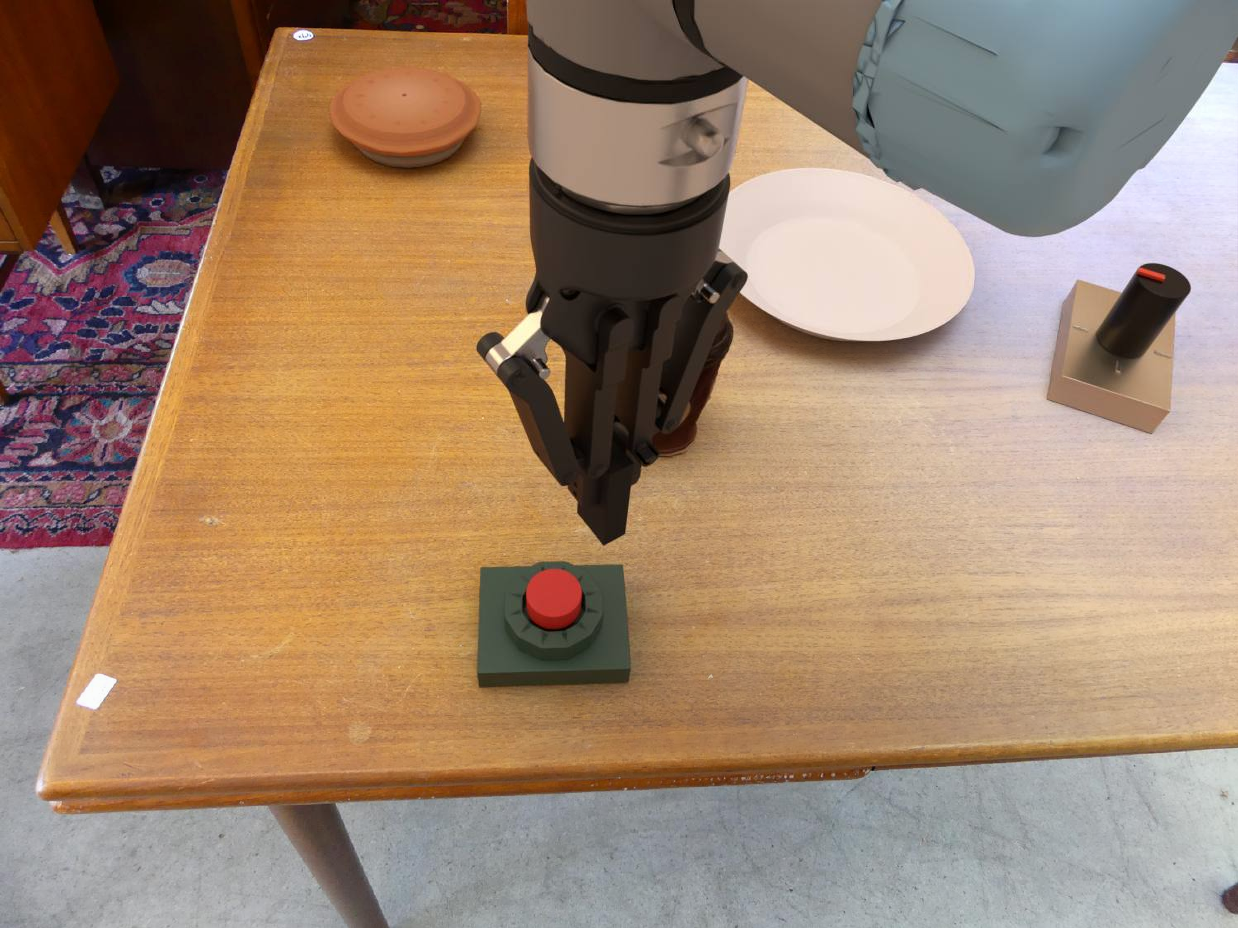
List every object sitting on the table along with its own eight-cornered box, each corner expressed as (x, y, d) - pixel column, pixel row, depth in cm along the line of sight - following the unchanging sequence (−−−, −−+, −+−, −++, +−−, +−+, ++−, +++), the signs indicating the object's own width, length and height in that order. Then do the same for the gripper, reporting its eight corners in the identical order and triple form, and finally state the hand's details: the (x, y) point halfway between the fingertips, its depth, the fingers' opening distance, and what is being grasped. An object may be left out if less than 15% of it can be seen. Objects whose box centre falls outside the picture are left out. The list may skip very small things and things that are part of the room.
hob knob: (1148, 333, 82) (1194, 270, 77) (1145, 364, 80) (1192, 301, 74) (1098, 317, 83) (1140, 253, 78) (1094, 347, 81) (1136, 284, 75)
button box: (620, 579, 66) (625, 550, 63) (628, 682, 62) (633, 656, 58) (481, 582, 66) (479, 552, 62) (478, 687, 61) (475, 660, 58)
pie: (352, 93, 103) (345, 50, 99) (490, 105, 103) (489, 62, 99) (319, 174, 93) (309, 130, 89) (471, 187, 94) (469, 144, 90)
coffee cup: (675, 488, 72) (698, 373, 62) (586, 441, 74) (594, 323, 64) (726, 419, 77) (755, 302, 66) (641, 377, 79) (657, 258, 69)
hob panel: (1151, 433, 79) (1171, 409, 77) (1046, 399, 81) (1062, 374, 78) (1158, 332, 87) (1177, 307, 85) (1063, 302, 89) (1078, 277, 86)
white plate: (997, 263, 92) (1011, 234, 89) (898, 412, 78) (912, 384, 76) (778, 168, 99) (785, 139, 97) (654, 289, 86) (658, 259, 83)
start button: (579, 581, 62) (580, 567, 61) (582, 629, 60) (583, 616, 58) (526, 582, 62) (526, 568, 60) (526, 630, 59) (526, 617, 58)
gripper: (533, 276, 29) (537, 628, 48) (830, 159, 34) (730, 518, 53) (423, 157, 33) (467, 528, 51) (707, 68, 38) (654, 434, 56)
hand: (600, 523), depth 52 cm, fingers closed
